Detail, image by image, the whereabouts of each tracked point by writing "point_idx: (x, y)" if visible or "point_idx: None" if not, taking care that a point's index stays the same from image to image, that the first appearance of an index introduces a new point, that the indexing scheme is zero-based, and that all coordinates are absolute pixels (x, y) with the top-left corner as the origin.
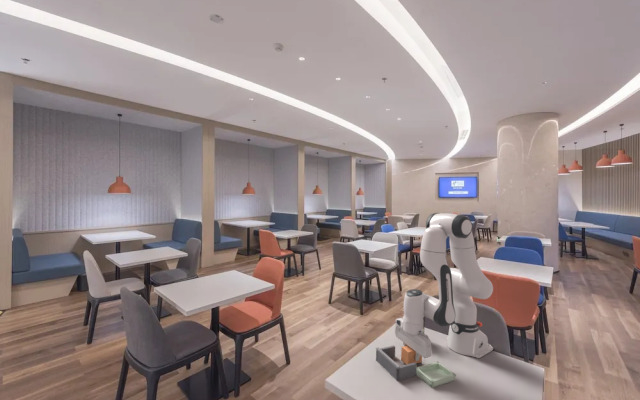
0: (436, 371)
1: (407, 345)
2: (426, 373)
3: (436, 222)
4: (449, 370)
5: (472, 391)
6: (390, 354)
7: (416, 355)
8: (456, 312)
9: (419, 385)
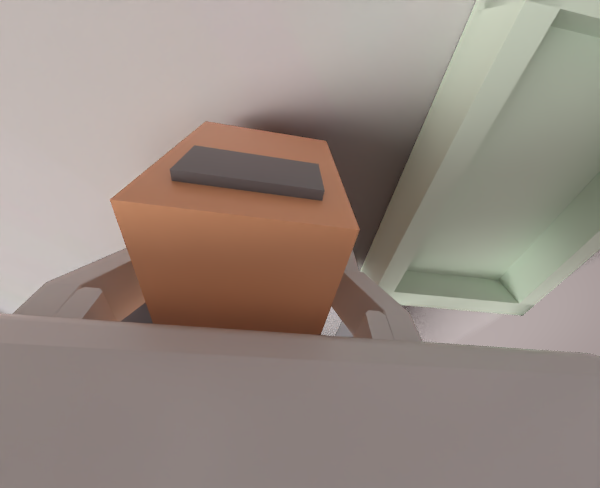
0: (508, 125)
1: (111, 283)
2: (433, 230)
3: None
4: None
5: None
6: (140, 309)
7: (356, 328)
8: None
9: (429, 314)
